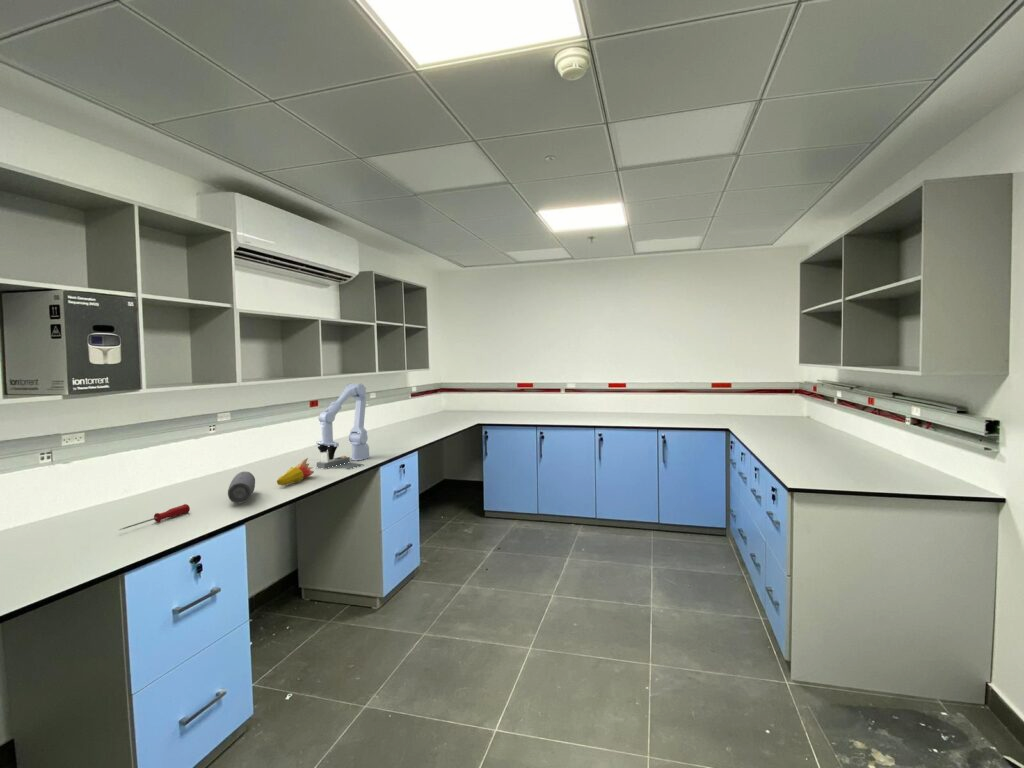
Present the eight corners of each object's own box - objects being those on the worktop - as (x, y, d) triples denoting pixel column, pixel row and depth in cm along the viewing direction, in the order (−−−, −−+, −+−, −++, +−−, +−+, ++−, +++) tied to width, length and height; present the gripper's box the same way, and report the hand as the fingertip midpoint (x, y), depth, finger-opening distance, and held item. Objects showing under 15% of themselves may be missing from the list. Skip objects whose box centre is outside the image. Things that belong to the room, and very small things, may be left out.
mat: (348, 463, 275) (348, 462, 275) (363, 465, 271) (363, 464, 271) (333, 467, 266) (333, 466, 266) (348, 469, 261) (348, 468, 261)
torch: (278, 496, 224) (307, 476, 248) (291, 488, 222) (320, 469, 247) (268, 481, 223) (298, 462, 248) (282, 473, 222) (311, 455, 246)
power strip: (342, 461, 281) (341, 455, 281) (349, 462, 278) (349, 456, 278) (316, 468, 265) (316, 461, 265) (324, 469, 262) (324, 462, 262)
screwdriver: (115, 534, 166) (114, 524, 166) (184, 512, 190) (183, 503, 190) (123, 535, 165) (122, 525, 165) (191, 513, 189) (190, 503, 189)
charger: (328, 462, 271) (328, 450, 271) (334, 463, 269) (334, 451, 269) (321, 464, 267) (321, 452, 266) (327, 465, 265) (327, 453, 264)
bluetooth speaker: (232, 493, 215) (231, 471, 214) (256, 491, 219) (255, 469, 218) (226, 508, 194) (225, 483, 194) (253, 505, 198) (252, 480, 197)
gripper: (311, 434, 267) (312, 459, 268) (331, 435, 260) (331, 461, 261) (321, 432, 273) (322, 456, 274) (341, 434, 267) (342, 458, 267)
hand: (327, 458), depth 268 cm, fingers closed on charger, 4 cm apart
